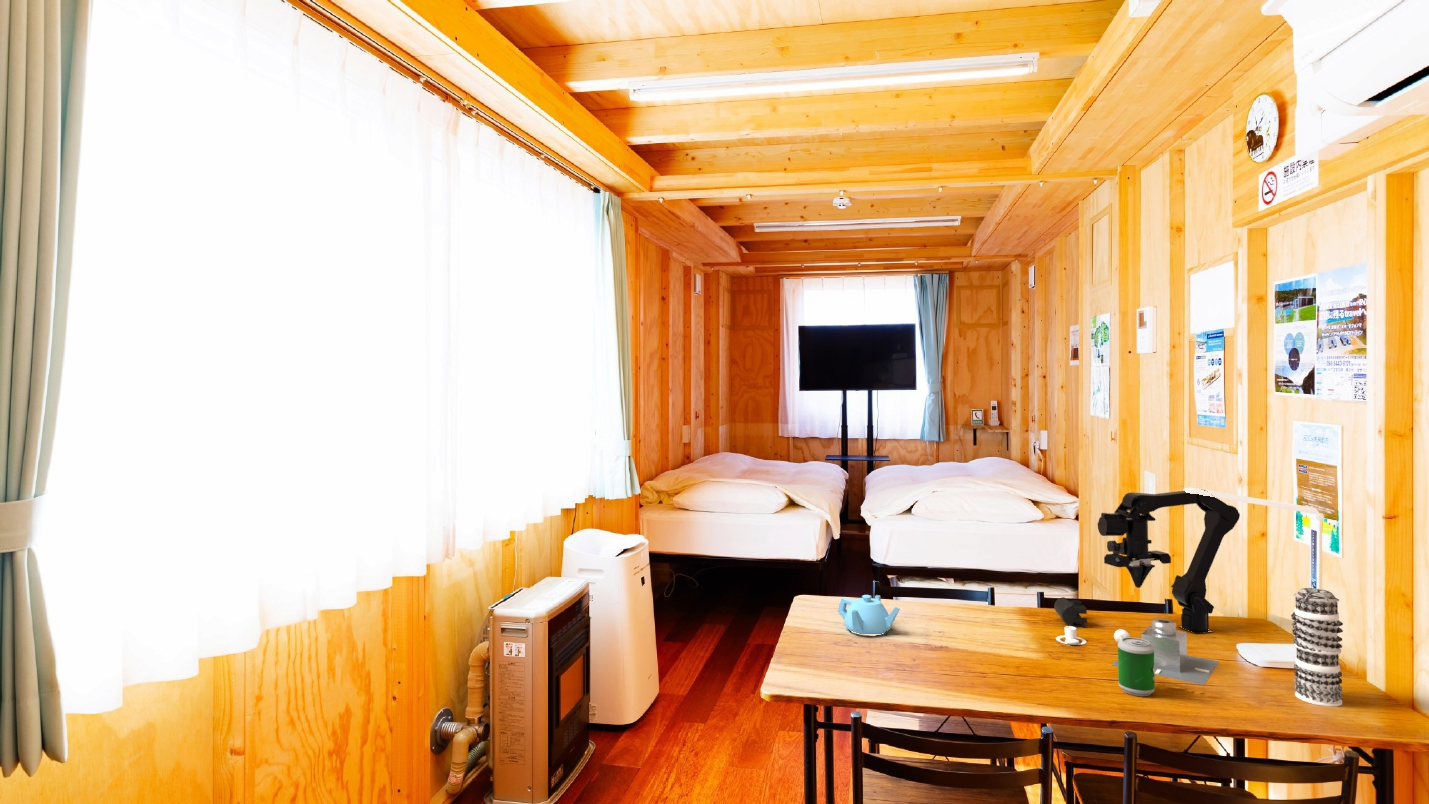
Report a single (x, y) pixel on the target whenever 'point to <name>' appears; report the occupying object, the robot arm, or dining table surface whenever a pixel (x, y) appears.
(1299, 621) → the decorative candle
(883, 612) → the teapot
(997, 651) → the dining table surface
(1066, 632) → the teacup and saucer
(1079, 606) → the end cap
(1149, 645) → the soda can
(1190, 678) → the turntable plate
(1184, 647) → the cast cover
